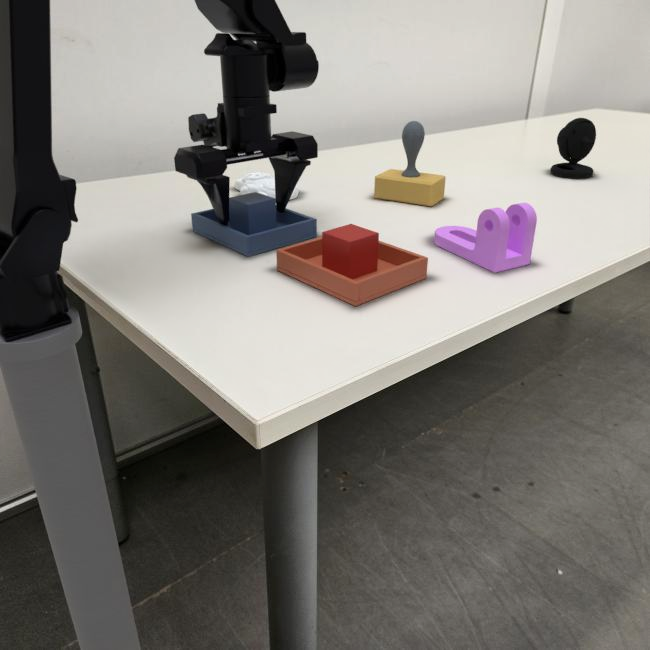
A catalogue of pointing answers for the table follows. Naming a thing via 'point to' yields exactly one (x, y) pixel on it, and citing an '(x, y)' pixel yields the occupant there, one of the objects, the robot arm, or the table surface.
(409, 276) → the terracotta tray
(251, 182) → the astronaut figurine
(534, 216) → the bracket
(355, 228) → the red block
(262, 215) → the blue block
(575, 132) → the webcam
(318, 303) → the table surface
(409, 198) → the rubber stamp
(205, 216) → the slate tray
